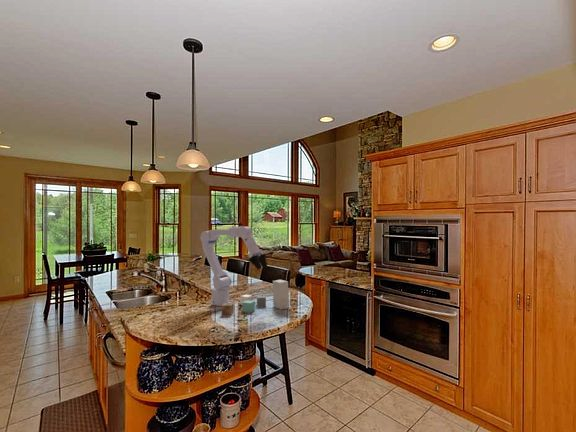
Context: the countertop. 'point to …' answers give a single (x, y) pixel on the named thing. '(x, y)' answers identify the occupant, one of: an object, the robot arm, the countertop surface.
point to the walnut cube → (227, 308)
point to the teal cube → (248, 306)
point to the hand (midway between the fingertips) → (262, 268)
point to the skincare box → (280, 294)
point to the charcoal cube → (261, 301)
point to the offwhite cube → (245, 298)
